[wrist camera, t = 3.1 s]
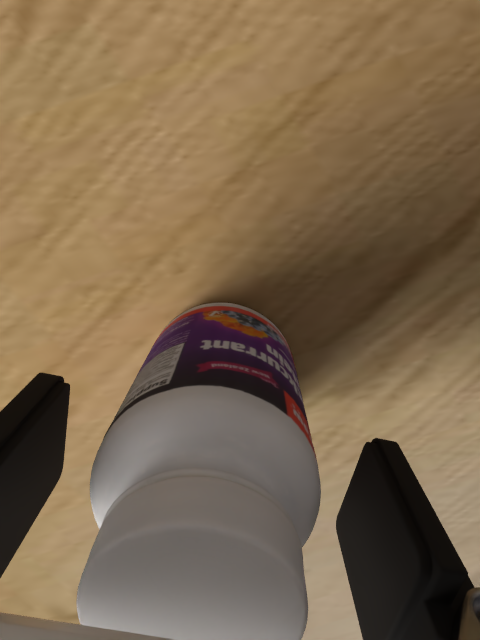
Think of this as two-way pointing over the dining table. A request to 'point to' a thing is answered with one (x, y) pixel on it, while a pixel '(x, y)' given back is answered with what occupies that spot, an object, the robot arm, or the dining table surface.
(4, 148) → the dining table surface
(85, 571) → the pill bottle
